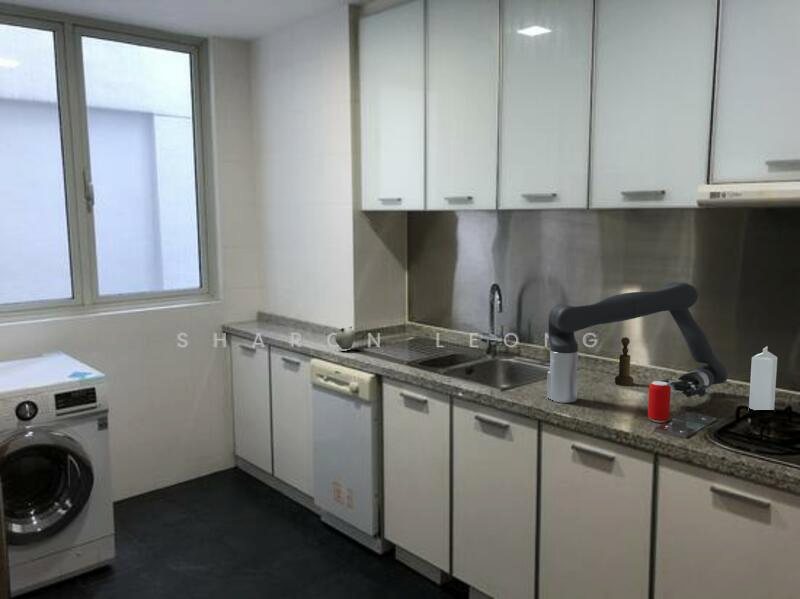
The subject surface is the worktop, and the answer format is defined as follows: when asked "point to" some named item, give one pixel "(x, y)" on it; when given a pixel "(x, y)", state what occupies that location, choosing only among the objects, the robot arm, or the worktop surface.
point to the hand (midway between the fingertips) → (674, 391)
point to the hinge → (685, 424)
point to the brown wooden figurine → (624, 366)
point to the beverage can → (659, 402)
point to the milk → (763, 381)
